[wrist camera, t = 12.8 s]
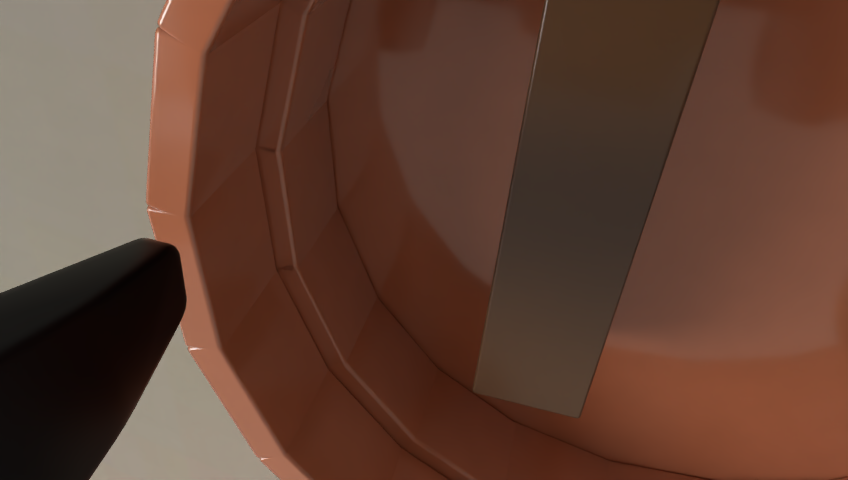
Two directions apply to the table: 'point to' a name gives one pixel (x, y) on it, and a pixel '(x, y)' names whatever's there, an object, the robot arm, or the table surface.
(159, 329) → the robot arm
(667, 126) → the stick
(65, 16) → the table surface
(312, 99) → the bowl
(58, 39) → the table surface
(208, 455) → the table surface
